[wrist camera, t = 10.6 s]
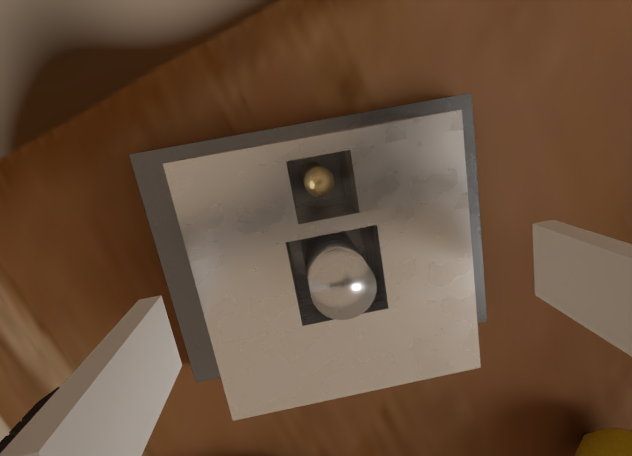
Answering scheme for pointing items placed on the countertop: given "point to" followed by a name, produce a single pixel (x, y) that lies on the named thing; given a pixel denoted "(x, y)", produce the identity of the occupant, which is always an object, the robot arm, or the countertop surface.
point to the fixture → (307, 254)
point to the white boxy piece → (321, 219)
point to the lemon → (606, 443)
